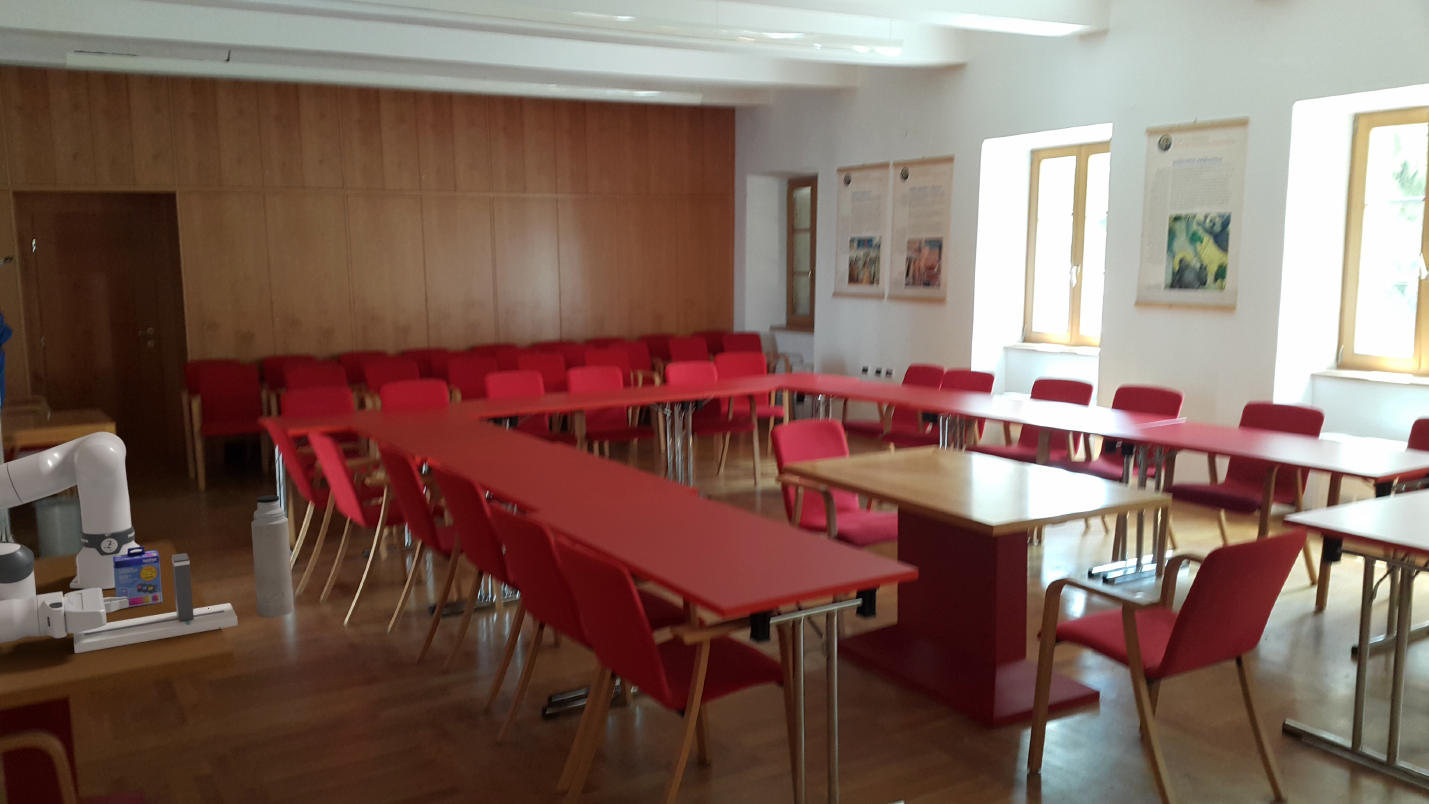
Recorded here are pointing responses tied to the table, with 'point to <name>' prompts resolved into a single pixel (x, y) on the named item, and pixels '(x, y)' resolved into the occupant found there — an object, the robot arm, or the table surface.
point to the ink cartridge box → (138, 577)
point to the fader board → (154, 628)
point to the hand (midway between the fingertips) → (128, 601)
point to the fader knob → (182, 587)
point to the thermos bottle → (272, 559)
